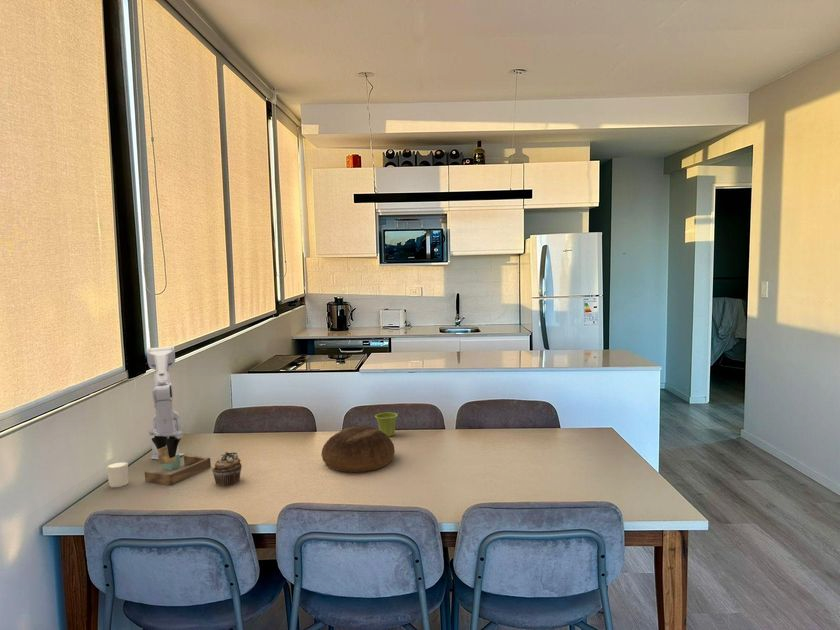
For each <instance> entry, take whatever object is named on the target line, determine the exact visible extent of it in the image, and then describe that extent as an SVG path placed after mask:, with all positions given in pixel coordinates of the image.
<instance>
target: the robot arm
mask: <svg viewBox="0 0 840 630" xmlns="http://www.w3.org/2000/svg"><path fill="white" fill-rule="evenodd" d="M146 359H147V365H148V367H149V369H152V370H155V373H154V374H153V388H152V390H151V391H152V401H153V405H154V412H155V413H154V415H153V417H152V429H148V436H153V437H152V438H151V447H152V450H151V451H152V456H151V458H150V459H152V460H158V461H159V459H158V449H160V448H162V447H165V446H167V447H168V453H169V457H170V458H173V457H175V455H176V453H177V454H179V455H180V457H182V456H184V455H185V453H180V452H179V443H180V441H181V439H183V438H184V431H181V420H180V414H179V412H178V411H176V410H174V406H173V400H174V392H173V391H174V390H173V385H172V380H171V379H172V378H171V377H172V376H171V374H170V370H171V368H173V367H175V365H176V353H175V347H174V346H173V345H171V346H165V347H164V346H163V347H161V346H160V347H148V348H147V349H146Z"/></svg>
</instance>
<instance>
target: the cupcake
mask: <svg viewBox="0 0 840 630" xmlns="http://www.w3.org/2000/svg"><path fill="white" fill-rule="evenodd" d="M211 470H212V475H213V478H214V482H215V485H216V486H217V487H230V486H234V485H236V484H238V483H239V482H240V480H241V472H242V463H241V459H240V458H239V454H238V453H237V452H227V451H225V452H223V454H221V455H220V457H219V458H218V459H217V460H216V462H215V464H214V467H213V468H212V469H211Z"/></svg>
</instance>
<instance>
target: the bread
mask: <svg viewBox="0 0 840 630" xmlns="http://www.w3.org/2000/svg"><path fill="white" fill-rule="evenodd" d="M395 452H396V450H395V446H394V443H393V440H392V439H391V438H390V437H388V436H387V435H386V434H385V433H383V432H382V431H380V430H379V428H376V427H373V426H370V425H354V426H351V427H346V428H343V429H341V430H339V431H338V432H337V433H335V434H334V435H332V436H331V437H330V438H329V439H327V441H326V442H325V443H324V444H323V446H322V449H321V455H320V456H321V458H322V461H323V462H324V464H325V465H326V466H327V467H329V468H331V469H334V470H337V471H340V472H346V473H361V472H370V471H375V470H379V469H381V468H384V467H385V466H386V465H388V464H389V463H390V462H391V461H392V459H394V455H395Z"/></svg>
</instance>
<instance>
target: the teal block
mask: <svg viewBox="0 0 840 630" xmlns="http://www.w3.org/2000/svg"><path fill="white" fill-rule="evenodd" d="M180 457H181V456H180V455H179V454H177V453H176V461H174V462H171V463H169V464H163V470H168V471H173V470H176V469H178V468H180V467H181V458H180Z"/></svg>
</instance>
